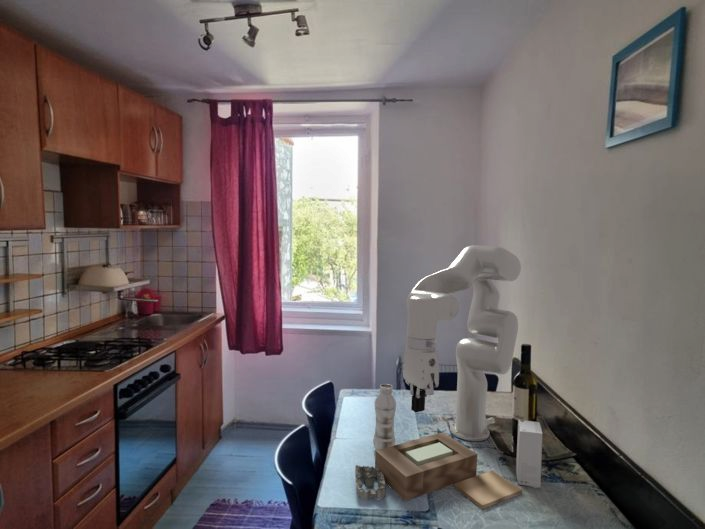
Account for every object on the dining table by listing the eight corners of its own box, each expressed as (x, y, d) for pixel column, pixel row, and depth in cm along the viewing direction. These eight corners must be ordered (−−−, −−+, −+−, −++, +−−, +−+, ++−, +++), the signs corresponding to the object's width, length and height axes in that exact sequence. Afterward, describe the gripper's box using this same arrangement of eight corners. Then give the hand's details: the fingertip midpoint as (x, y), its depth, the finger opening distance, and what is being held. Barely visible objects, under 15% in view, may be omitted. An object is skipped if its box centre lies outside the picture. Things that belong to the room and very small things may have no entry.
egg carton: (385, 502, 109) (386, 486, 108) (355, 501, 108) (355, 485, 108) (382, 476, 119) (382, 462, 119) (354, 476, 119) (354, 462, 119)
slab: (439, 450, 126) (439, 442, 126) (452, 459, 121) (452, 451, 121) (405, 460, 120) (405, 451, 120) (417, 470, 115) (417, 461, 115)
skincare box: (540, 489, 115) (544, 434, 114) (516, 484, 117) (519, 431, 116) (537, 472, 123) (541, 421, 122) (514, 468, 125) (517, 417, 124)
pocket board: (442, 452, 132) (443, 432, 132) (476, 476, 120) (477, 454, 120) (374, 472, 121) (375, 450, 120) (404, 501, 109) (406, 476, 108)
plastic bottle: (393, 457, 129) (396, 391, 127) (371, 454, 130) (373, 388, 129) (396, 446, 135) (398, 383, 134) (374, 443, 137) (376, 381, 135)
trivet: (492, 473, 122) (492, 470, 122) (521, 493, 113) (522, 489, 113) (453, 487, 115) (454, 483, 115) (482, 509, 106) (482, 505, 106)
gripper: (451, 348, 111) (447, 418, 112) (414, 334, 124) (412, 398, 125) (427, 352, 107) (424, 424, 109) (392, 337, 120) (390, 402, 122)
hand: (417, 410), depth 117 cm, fingers closed
